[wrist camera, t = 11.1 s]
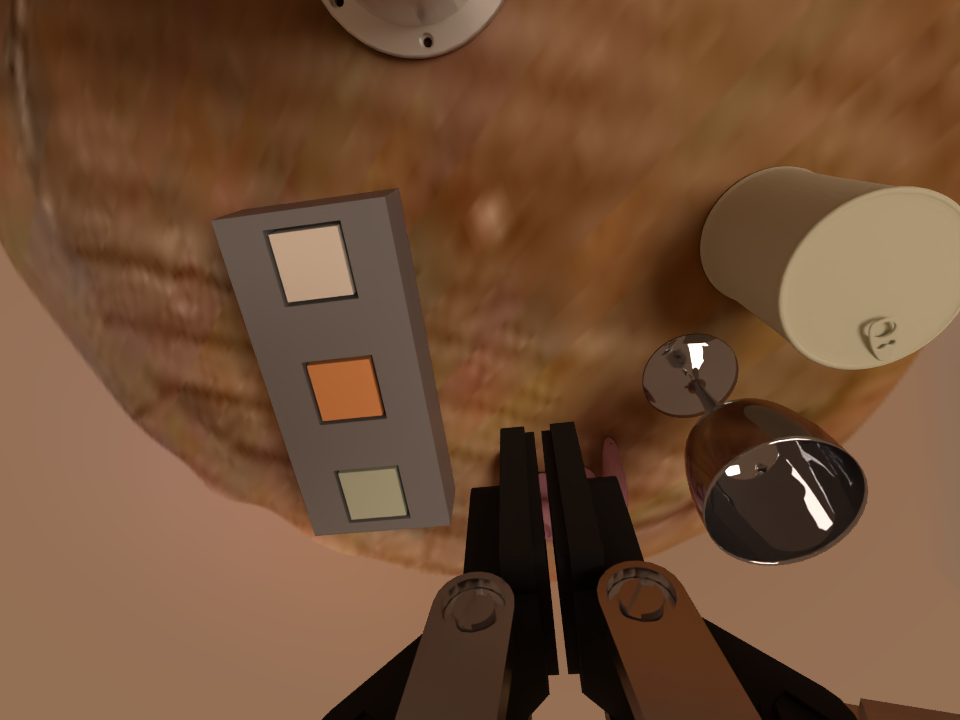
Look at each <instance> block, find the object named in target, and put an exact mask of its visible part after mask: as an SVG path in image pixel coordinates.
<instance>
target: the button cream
mask: <svg viewBox="0 0 960 720" xmlns="http://www.w3.org/2000/svg"><path fill="white" fill-rule="evenodd" d="M268 236H269V239H270V243H271V246H272V249H273V253H274V256H275V260H276V263H277V266H278V270H279V273H280V277H281V280H282V284H283V287H284V290H285V294H286V297H287V301H288V302H296V301H304V300H312V299H320V298H329V297H337V296H345V295H353V294H354V293H355V292H356V291H357V289H356V285H355V280H354V276H353V272H352V268H351V263H350V259H349V255H348V251H347V246H346V242H345V238H344V234H343V229H342V225H341V221H340V220H338V221H331V222H323V223H316V224H308V225H301V226H294V227H286V228H282V229H280V230H278V231H275V232H273V233H271V234H269V235H268Z"/></svg>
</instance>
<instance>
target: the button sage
mask: <svg viewBox="0 0 960 720" xmlns="http://www.w3.org/2000/svg"><path fill="white" fill-rule="evenodd" d="M338 475H339V478H340V481H341V485H342V488H343V492H344V495H345V499H346V502H347V505H348V509H349V512H350V516H351V519H352V520H354V519H366V518H378V517H391V516H403V515H406V514H407V510H408V505H407V500H406V496H405V492H404V488H403V484H402V479H401V475H400V471H399V467H398V465H395V466H384V467H373V468H362V469H351V470H340V471H339V473H338Z"/></svg>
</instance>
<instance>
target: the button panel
mask: <svg viewBox="0 0 960 720" xmlns="http://www.w3.org/2000/svg"><path fill="white" fill-rule="evenodd" d="M338 220H340V221H341V225H342V229H343V234H344V238H345V242H346V246H347V251H348V255H349V259H350V263H351V268H352V272H353V276H354V280H355V285H356V289H357V291H356V292H355V293H354V294H353V295H345V296H337V297H329V298H320V299H312V300H304V301H296V302H288V301H287V297H286V294H285V290H284V287H283V284H282V280H281V277H280V273H279V270H278V266H277V263H276V260H275V256H274V253H273V249H272V246H271V243H270V239H269V236H268V235H269V234H271V233H273V232H275V231H278V230H280V229H282V228H286V227H294V226H301V225H308V224H316V223H323V222H331V221H338ZM211 223H212V226H213V229H214V232H215V235H216V238H217V241H218V244H219V247H220V250H221V253H222V256H223V259H224V262H225V265H226V268H227V271H228V274H229V277H230V280H231V283H232V286H233V289H234V292H235V295H236V298H237V301H238V304H239V307H240V310H241V313H242V316H243V319H244V322H245V325H246V328H247V331H248V334H249V337H250V340H251V343H252V346H253V349H254V352H255V355H256V358H257V361H258V364H259V367H260V370H261V373H262V376H263V379H264V383H265V386H266V389H267V392H268V395H269V398H270V401H271V404H272V407H273V410H274V413H275V416H276V419H277V422H278V425H279V428H280V431H281V434H282V437H283V440H284V443H285V446H286V449H287V452H288V455H289V458H290V461H291V464H292V467H293V470H294V473H295V476H296V479H297V482H298V485H299V488H300V491H301V494H302V497H303V500H304V503H305V506H306V509H307V512H308V515H309V518H310V521H311V524H312V527H313V530H314V533H315V536H321V535H334V534H347V533H359V532H372V531H385V530H397V529H410V528H423V527H435V526H448V525H451V518H452V511H453V503H454V495H455V485H454V479H453V474H452V469H451V464H450V458H449V453H448V448H447V442H446V437H445V432H444V426H443V421H442V416H441V411H440V405H439V400H438V395H437V389H436V384H435V379H434V373H433V368H432V363H431V358H430V352H429V347H428V342H427V336H426V331H425V326H424V320H423V315H422V310H421V305H420V299H419V294H418V289H417V283H416V278H415V273H414V267H413V262H412V257H411V252H410V246H409V241H408V236H407V230H406V225H405V220H404V214H403V209H402V204H401V199H400V193H399V188H396V189H389V190H382V191H375V192H367V193H360V194H353V195H346V196H339V197H331V198H324V199H317V200H310V201H303V202H296V203H288V204H281V205H274V206H267V207H260V208H253V209H245V210H241V211H238V212H235V213H232V214H229V215H226V216H223V217H220V218H217V219H214V220H211ZM367 355H372V357H373V361H374V365H375V369H376V373H377V378H378V382H379V386H380V390H381V395H382V399H383V403H384V407H385V410H384V412H383V415H380V416H370V417H359V418H349V419H339V420H329V421H323V420H322V416H321V413H320V410H319V406H318V403H317V399H316V396H315V392H314V389H313V386H312V382H311V379H310V375H309V372H308V369H307V365H308V364H309V363H310V362H312V361H321V360H330V359H339V358H349V357H358V356H367ZM395 465H398V467H399V471H400V475H401V479H402V484H403V488H404V492H405V496H406V500H407V505H408V510H407V514H406V515H403V516H391V517H378V518H366V519H354V520H352V519H351V516H350V512H349V509H348V505H347V502H346V499H345V495H344V492H343V488H342V485H341V481H340V478H339V475H338V473H339V471H340V470H351V469H362V468H373V467H384V466H395Z"/></svg>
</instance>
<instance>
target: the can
mask: <svg viewBox="0 0 960 720" xmlns="http://www.w3.org/2000/svg"><path fill="white" fill-rule="evenodd" d="M700 257H701V262H702V266H703V269H704V271H705V274H706V276H707V277H708V279H709V281H710V282H711V283H712V284H713V286H714V287H715V288H716V289H717V290H719V291H720V292H721V293H722V294H724V295H725V296H727V297H729V298H731V299H733V300H736V301H737V302H738V303H740V304H741V305H742V306H744V307H745V308H746V309H748V310H749V311H750V312H752V313H753V314H754V315H756V316H757V317H758V318H759V319H761V320H762V321H763V322H765V323H766V324H767V325H768V326H770V327H771V328H772V329H774V330H775V331H776V332H777V333H779V334H780V335H781V336H782V337H784V338H785V339H786V340H787V341H788V342H790V343H791V345H792V346H793V347H794V348H795V349H796V350H797V351H798V352H799V353H801V354H802V355H803V356H805V357H806V358H808V359H810V360H812V361H814V362H816V363H818V364H820V365H824V366H827V367H831V368H837V369H847V370H856V369H867V368H873V367H877V366H882V365H885V364H888V363H891V362H894V361H896V360H899V359H901V358H903V357H905V356H907V355H909V354H911V353H913V352H915V351H917V350H918V349H920V348H921V347H923V346H924V345H926V344H927V343H928V342H930V341H931V340H932V339H934V338H935V337H936V336H937V335H938V334H939V333H941V332H942V331H943V330H944V329H945V328H946V327H947V326H948V324H949V323H950V322H951V321H952V320H953V319H954V318H955V316H956V315H957V314H958V312H959V311H960V206H959V205H958V204H957V203H956V202H954V201H953V200H951V199H950V198H949V197H947V196H945V195H943V194H941V193H938V192H936V191H933V190H930V189H926V188H920V187H912V186H892V185H885V184H878V183H871V182H865V181H858V180H852V179H845V178H839V177H833V176H827V175H822V174H817V173H814V172H812V171H809V170H806V169H803V168H799V167H791V166H781V167H773V168H768V169H764V170H761V171H758V172H756V173H753V174H751V175H749V176H747V177H745V178H744V179H742V180H740V181H739V182H737V183H736V184H735V185H733V186H732V187H731V188H730V189H729V190H728V191H726V192H725V193H724V195H723V196H722V197H721V198H720V199H719V200H718V201H717V203H716V204H715V205H714V207H713V209H712V210H711V212H710V214H709V215H708V217H707V219H706V222H705V225H704V227H703V231H702V235H701V241H700Z"/></svg>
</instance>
